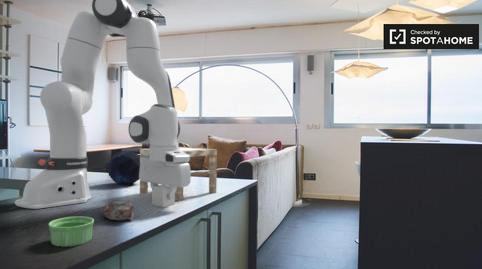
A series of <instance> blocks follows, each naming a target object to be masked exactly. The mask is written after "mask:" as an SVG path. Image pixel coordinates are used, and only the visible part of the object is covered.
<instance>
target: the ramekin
mask: <svg viewBox="0 0 482 269" xmlns="http://www.w3.org/2000/svg"><path fill="white" fill-rule="evenodd" d="M94 222H95V219H94V218H93V217H90V216H80V215H79V216H67V217H62V218H57V219H53V220H51V221H49V223H48V228H49V235H50V237H49V238H50V243H51V245H53V246H54V247H59V246H61V247H62V248H63V247H65V248H66V247H68V246H69V247H75V246H81V245H83V244H86V243H87V244H88V243H89V242H90V241H91V240H92V236H93V228H94V226H93V225H94ZM61 247H60V248H61Z"/></svg>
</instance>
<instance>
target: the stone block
mask: <svg viewBox="0 0 482 269" xmlns="http://www.w3.org/2000/svg"><path fill="white" fill-rule="evenodd" d="M169 192H170V189H169V185H163V184H158V185H156V186H152V188H151V205H152V206H154V207H159V208H160V207H161V208H166V207H169V206H174V205H176V203H175V202H176V200H175V194H174V199H173V200H169V199H167V194H169Z"/></svg>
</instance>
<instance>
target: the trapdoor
mask: <svg viewBox="0 0 482 269" xmlns="http://www.w3.org/2000/svg"><path fill="white" fill-rule="evenodd" d="M194 148H195V147H189V148H178V149H179V150H181V151H193V150H206V149H207V148H204V149H194Z"/></svg>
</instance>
